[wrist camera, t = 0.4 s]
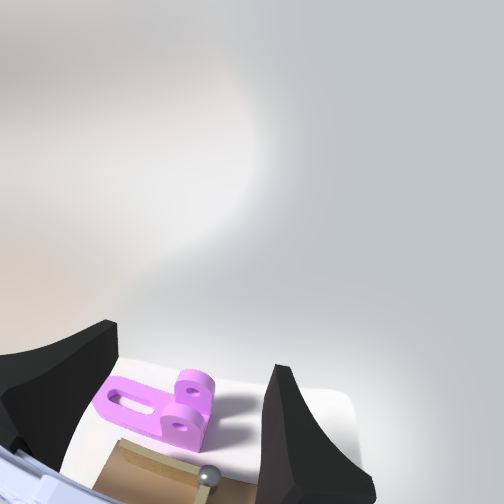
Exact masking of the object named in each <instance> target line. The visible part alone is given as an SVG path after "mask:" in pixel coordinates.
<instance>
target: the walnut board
mask: <svg viewBox="0 0 504 504" xmlns="http://www.w3.org/2000/svg"><path fill="white" fill-rule="evenodd" d="M119 442H120V440H118V441H117V443H116V445H115V447H114V449H113V451H112V452H111V454H110V456H109V458H108V460H107V462H106V464H105V465H104V467H103V469H102V471H101V473H100V475H99V477H98V479H97V481H96V482H95V484H94V486H93V488H92V490H94V491H96V492H98V493H101V494H103V495H105V496H108V497H110V498H113V499H115V500H117V501H120V502H123V503H125V504H194V502H195V499H196V496H197V493H198V489H197V488H196V487H193V486H190V485H187V484H184V483H181V482H178V481H175V480H172V479H169V478H166V477H164V476H161V475H158V474H156V473H153V472H150V471H148V470H145V469H143V468H141V467H138V466H136V465H134V464H131V463H129V462H127V461H126V460H125V458H124V456H123V454H122V452H121V450H120V448H119V446H118V444H119ZM257 487H258V485H255V484H250V483H245V482H241V481H237V480H232V479H228V478H224V477H220V480H219V484H218V487H217V490H216V492H215V493H214V494H211V495H209V496H208V500H207V503H206V504H255V499H256V493H257Z"/></svg>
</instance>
